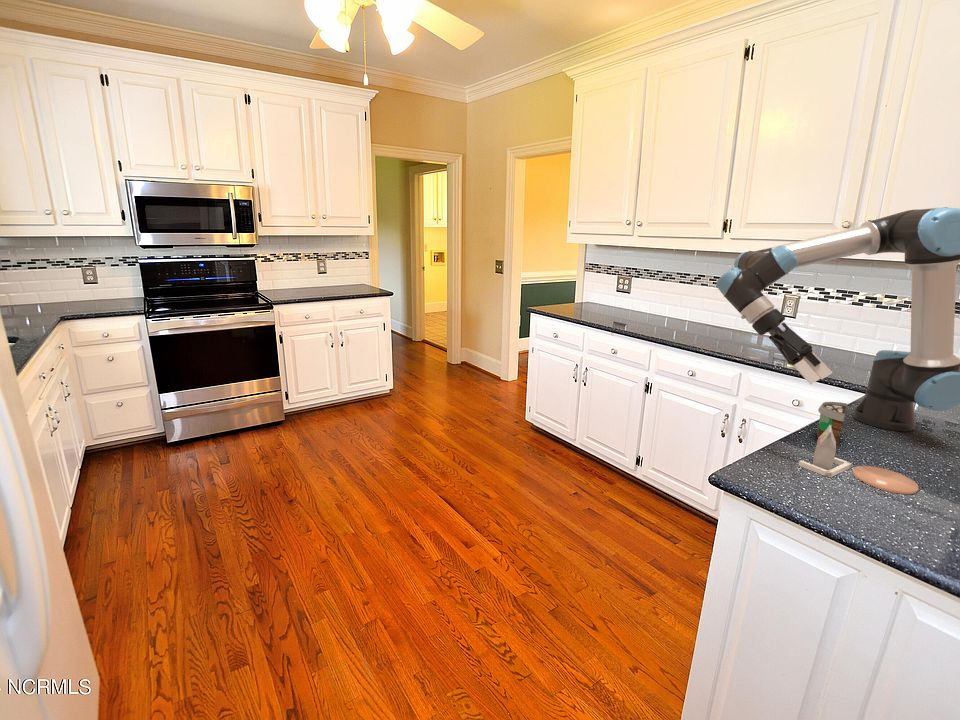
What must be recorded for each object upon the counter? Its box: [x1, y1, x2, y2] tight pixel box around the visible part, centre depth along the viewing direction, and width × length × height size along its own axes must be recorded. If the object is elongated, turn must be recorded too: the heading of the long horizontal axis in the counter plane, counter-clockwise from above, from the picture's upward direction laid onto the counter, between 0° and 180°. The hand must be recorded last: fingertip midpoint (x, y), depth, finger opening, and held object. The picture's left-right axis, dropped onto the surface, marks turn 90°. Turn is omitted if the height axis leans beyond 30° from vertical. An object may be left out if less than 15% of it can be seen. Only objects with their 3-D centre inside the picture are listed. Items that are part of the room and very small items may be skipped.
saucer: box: [852, 465, 919, 495], centre depth 114 cm, size 12×12×1 cm
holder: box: [797, 457, 853, 479], centre depth 120 cm, size 11×7×1 cm, turn 121°
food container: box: [816, 401, 848, 448], centre depth 136 cm, size 12×6×10 cm, turn 141°
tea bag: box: [812, 425, 837, 470], centre depth 119 cm, size 4×7×10 cm, turn 144°
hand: (821, 379), depth 124 cm, fingers open, 13 cm apart
